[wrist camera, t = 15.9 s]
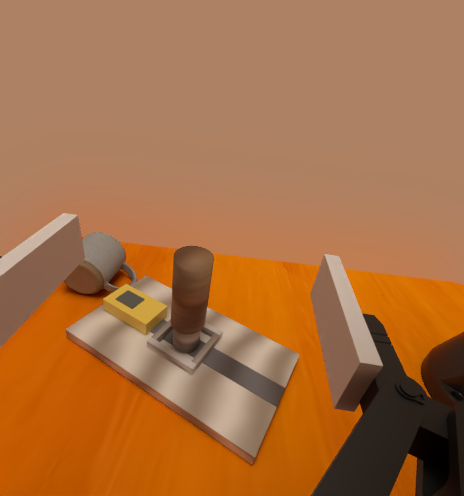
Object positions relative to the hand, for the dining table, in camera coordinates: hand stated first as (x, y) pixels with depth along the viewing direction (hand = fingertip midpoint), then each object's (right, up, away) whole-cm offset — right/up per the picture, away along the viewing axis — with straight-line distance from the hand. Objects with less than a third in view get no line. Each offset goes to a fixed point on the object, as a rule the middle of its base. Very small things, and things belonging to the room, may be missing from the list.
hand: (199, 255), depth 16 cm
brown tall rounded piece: (-4, -12, +24) cm, 27 cm away
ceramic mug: (-20, -6, +34) cm, 40 cm away
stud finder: (-12, -9, +27) cm, 31 cm away
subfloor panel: (-5, -14, +25) cm, 29 cm away
